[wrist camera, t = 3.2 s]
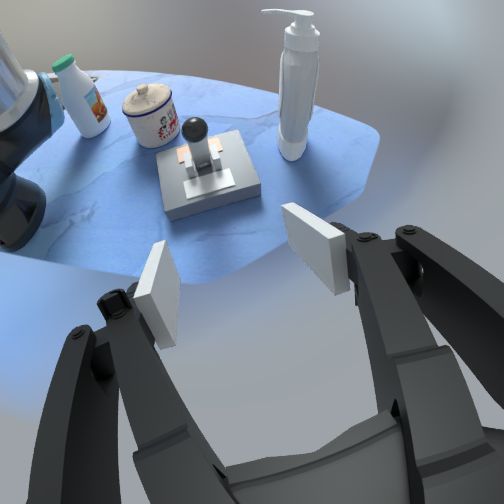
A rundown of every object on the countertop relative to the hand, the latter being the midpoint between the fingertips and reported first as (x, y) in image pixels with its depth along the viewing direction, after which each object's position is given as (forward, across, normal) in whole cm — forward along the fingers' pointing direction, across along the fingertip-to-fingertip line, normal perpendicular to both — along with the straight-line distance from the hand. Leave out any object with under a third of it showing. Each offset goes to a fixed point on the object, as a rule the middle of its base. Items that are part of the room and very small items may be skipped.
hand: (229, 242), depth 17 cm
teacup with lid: (+40, -6, +12) cm, 43 cm away
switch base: (+29, 0, +1) cm, 29 cm away
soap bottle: (+32, +15, +4) cm, 35 cm away
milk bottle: (+47, -21, +19) cm, 55 cm away
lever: (+26, 0, +4) cm, 26 cm away
